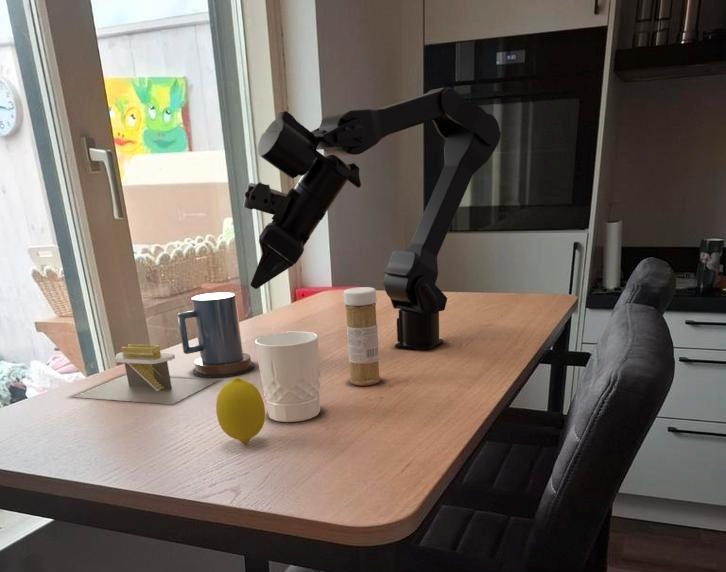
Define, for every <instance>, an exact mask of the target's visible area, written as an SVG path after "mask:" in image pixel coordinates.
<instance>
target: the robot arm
mask: <svg viewBox="0 0 726 572" xmlns="http://www.w3.org/2000/svg"><path fill="white" fill-rule="evenodd" d="M320 121H321V123H320V125H319V127H318V128H315V129H312V131H310V130H309V129H308V128H306V127H305V126H304V125H303V124H302V123H300V122H299V121H298V120H297V119H296V118H295V117H294V116H293V115H292V114H291V113H290V112H289V111H287V110H285V111H280V112H278V113H277V116H276V118H275V119H274V120H273V121H272V122H271V123H270V124H269V125H268V127H267V128H266V130H265V131H264V132H263V133H262V134H261V135H260V138H259V141H258V144H257V149H256V152H257V155H258V156H259V157H260V158H261V159H263V160H265V161H266V162H267V163H269V164H270V165H272V166H273V167H274V168H276V169H277V170H278V171H280V172H281V173H282V174H284V175H286V176H287V177H288V178H290V179H294V178H297V177H299V176H300V178H299V180H298V182H297V183H296V185H295V186H294V187H291V188H290V189H289V191H288V192H287V193H286V192H283V191H279V190H276V189H274V188H271V187H270V184H267V183H266V184H265V183H263V182H261V181H258V182H257V183H254V182H249V183H248V184H247V186H246V191H245V192H244V196H245V197H244V202H243V205H242V206H243V208H246V209H247V210H248V209H249V210H251V211H252V210H256V211H259V212H263V213H266V214H269V215H272V216H271V220H272V221H271V222H268V223H267V224H266V225H265V227H264V228H263V230H262V231H261V233H260V235H259V236H258V244H259V245H260V250H261V256H260V259H259V262H258V263H257V266H256V269H255V272H254V274H253V277H252V279H251V281H250V284H249V285H250V287H252V288H253V289H254V290H258V289H259V288H261V287H262V286H264V285H265V284H267V283H268V282H270V281H271V280H273V279H274V278H276V277H277V276H279V275H281V274H282V273H283V272H285V271H287V270H288V269H290V268H292V267H293V266H295V265H297V263H298V261H299V259H300V258H301V257H302V255H303V254H304V251H305V246H306V243H307V242H308V241H309V239H310V238H311V235H312V234H313V232H314V231H315V229H316V228H317V227H318V225H319V224H320V222H321V221H322V220H323V219H324V217H325V216H326V213H327V212H328V211H329V209H330V207H331V206H332V205H333V203H334V201H335V200H336V199H337V197H338V195H339V194H340V192H341V191H342V189H343V188H344V186H345V185H346V183H347V182H349V183H350V184H352V185H353V186H354V187H356V188H358V189H359V188H361V186H362V182H361V178H360V167H359V166H358V165H357V164H356V163H355V162H352V163H346V162H345V161H343V160H342V159H341V158H339V157H344V156H345V157H346V156H354V155H355V156H356V155H361V154H363V153H365V152H367V151H368V150H369V149H371V148H372V147H374V146H376V145H378V143H380V141H382V140H383V139H384V138H386V137H387V136H389V135H392V134H395V133H398V132H401V131H404V130H407V129H410V128H413V127H416V126H419V125H422V124H425V123H428V122H431V121H432V122H433V125H434V127H435V129H436V131H437V133H438V134H439V136H441V137H442V138H443V139H444V140H445V142H444V146H443V151H444V153H443V154H444V166H443V168H442V170H441V173H440V175H439V178H438V180H437V182H436V184H435V187H434V189H433V191H432V194H431V196H430V198H429V201H428V203H427V205H426V207H425V209H424V212H423V214H422V217H421V219H420V221H419V223H418V226H417V228H416V231H415V232H414V235H413V238H412V239H411V242H410V243H409V245H408V247H406V248H405V249H404V250H396V249H395V250H394V251H393V252H392V253H391V256H390V259H389V262H388V265H386V266H387V267H386V268H385V269H384V270H383V272H382V273H383V274H385V275H384V278H383V287H384V290H385V293H386V295H387V296H388V298H389V299H390V302H391V305H392V308H393V309H396V310H397V309H398V317H397V318H396V339H397V343H395V344H394V347H395V348H397V349H398V348H399V349H411V350H423V351H428V350H431V349H433V348H435V347H436V346H439V345H441V344H443V343H444V338H440V312H443V311H445V310H446V306H447V302H448V297H447V296H446V294H445V293H444V292H443V291H442V290H441V289H440V288H439V287H438V285H436V283H437V279H438V276H439V265H438V256H439V254H440V251H441V249H442V247H443V244H444V241H445V239H446V237H447V235H448V233H449V230H450V228H451V226H452V223H453V221H454V220H455V216H456V214H457V212H458V210H459V207H460V205H461V203H462V201H463V198H464V196H465V195H466V191H467V189H468V187H469V185H470V182H471V181H472V178H473V176H474V175H475V174H476V173H477V172H478V171H479V170H481V168H482V167H483V166H484V165H485V164H487V162H489V160H490V158H491V157H492V156H493V154H494V152H495V150H496V149H497V147H498V145H499V144H500V141H501V137H502V132H501V129H500V125H499V122H498V120H497V119H496V117H495V115H493V114H491V113H487V112H486V111H485V110H484V108H482V107H481V106H479V105H477V104H475V103H473V102H471V101H470V100H468V99H466V98H464V97H463V96H461V95H460V94H459V93H458V92H457V90H455V89H453V88H451V87H449V86H448V87H440V88H436V89H435V88H434V89H430V90H429V91H427V92H426V93H424V94H421V95H417V96H413V97H411V98H408V99H404V100H401V101H398V102H395V103H391V104H389V105H384V106H382V107H379V108H368V109H366V108H365V109H353V110H348V111H342V112H335V113H330V114H328V115H326V116H324V117H323V118H322V119H321V120H320ZM318 150H319V151H320V150H323V151H324V152H325V153H326V154H328V155H327V156H325V155H323V154H322V153H321V152H319V151H318Z"/></svg>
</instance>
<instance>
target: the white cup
mask: <svg viewBox="0 0 726 572" xmlns="http://www.w3.org/2000/svg"><path fill="white" fill-rule="evenodd" d="M254 344H255V350H256V351H255V352H256V356H257V363H258V368H259V374H260V378H261V379H260V380H261V384H262V385H261V386H262V389H263V395H264V398H265V402H266V408H267V409H266V410H267V414H268V416H269V419H270V420H273V421H274V422H275V421H276V422H282V423H294V422H295V423H296V422H303V421H306V420H310V419H313V418H315V417H317V416H318V415H319V413H320V412H321V399H320V389H321V382H320V377H321V376H320V375H321V373H320V350H319V335H318V334H317V333H316V332H311V331H304V330H303V331H302V330H293V331H292V330H291V331H279V332H274V333H268V334H265V335H261V336H259V337H257V338H256V339H255V340H254Z"/></svg>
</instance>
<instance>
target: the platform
mask: <svg viewBox="0 0 726 572" xmlns="http://www.w3.org/2000/svg"><path fill="white" fill-rule="evenodd" d="M120 348H121V352H117V353H115V362H116V363H123V364H124V368H125V373H126V374H124V375H122V376H119V377H117V378H115V379H112V380H110V381H107V382H105V383H103V384H101V385H98V386H95V387H93V388H90V389H88V390H86V391H84V392H82V393H79V394H76V395H74V396H73V398H81V399H82V398H83V399H96V400H107V401H108V400H109V401H121V402H123V401H124V402H134V403H149V404H160V405H161V404H162V405H174V404H176V403H178V402H180V401H182V400H183V399H185V398H187V397H190V396H192V395H194V394H196V393H197V392H199V391H201V390H203V389H205V388H207V387H209V386H211V385H213V384H215V383H217V382H218V380H213V379H212V380H211V379H198V378H197V379H194V378H178V377H171V375H170V369H169V363H168V362H169V361H172V360H175V359H176V356H175V354H174V353H162V352H161V349H160V345H157V344H133V343H132V344H131V343H128V344H127V346H121V347H120Z"/></svg>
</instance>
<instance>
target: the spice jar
mask: <svg viewBox="0 0 726 572" xmlns="http://www.w3.org/2000/svg"><path fill="white" fill-rule="evenodd" d="M376 302H377V290H376V288H374V287H370V286H360V287H351V288H347V289H345V290H344V291H343V304H344V307H345V317H346V337H347V338H346V340H347V352H348V353H347V354H348V362H349V374H350V376H349V382H350V384H352V385H355V386H372V385H373V386H374V385H375V384H378V383H379V382H380V381H381V377H380V366H379V365H380V364H379V360H380V353H379V336H378V335H379V331H378V321H377V308H376V306H377V303H376Z"/></svg>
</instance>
